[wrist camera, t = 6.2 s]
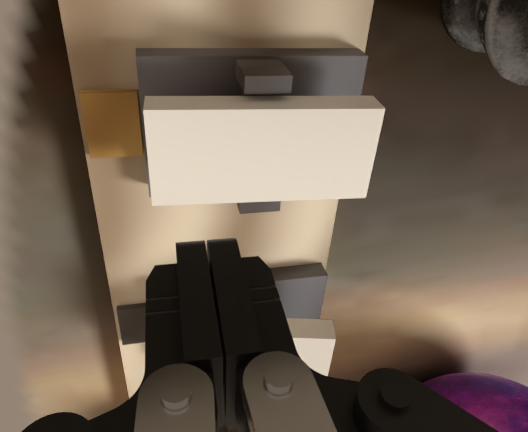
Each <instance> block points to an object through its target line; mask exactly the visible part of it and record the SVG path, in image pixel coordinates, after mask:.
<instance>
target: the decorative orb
mask: <svg viewBox="0 0 528 432" xmlns="http://www.w3.org/2000/svg"><path fill="white" fill-rule="evenodd" d="M423 384H424V385H426V386H427V387H429V388H431V389H432V390H434V391H435V392H437V393H439V394H440V395H442V396H443V397H445V398H446V399H448V400H450V401H451V402H453V403H454V404H456V405H458V406H459V407H461V408H462V409H464V410H465V411H467V412H469V413H470V414H472V415H473V416H475V417H477V418H478V419H480V420H481V421H483V422H484V423H486V424H488V425H489V426H491V427H492V428H494V429H496V430H497V431H499V432H528V387H527V386H524V385H522V384H520V383H517V382H515V381H512V380H509V379H506V378H503V377H499V376H495V375H489V374H482V373H453V374H447V375H443V376H439V377H435V378H432V379H430V380H427V381H425V382H423Z"/></svg>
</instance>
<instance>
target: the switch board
mask: <svg viewBox="0 0 528 432" xmlns="http://www.w3.org/2000/svg"><path fill="white" fill-rule="evenodd" d="M58 3H59V9H60V14H61V20H62V26H63V31H64V37H65V42H66V48H67V54H68V59H69V65H70V70H71V76H72V82H73V87H74V93H75V98H76V104H77V110H78V115H79V121H80V127H81V132H82V138H83V143H84V149H85V155H86V160H87V166H88V171H89V177H90V183H91V188H92V194H93V199H94V205H95V211H96V216H97V222H98V227H99V233H100V239H101V244H102V250H103V255H104V261H105V267H106V272H107V278H108V283H109V289H110V295H111V300H112V306H113V311H114V317H115V323H116V328H117V334H118V339H119V345H120V351H121V356H122V362H123V367H124V373H125V379H126V384H127V390H128V395H129V398H131V397H132V396H133V394H134V393H135V392H136V391H137V389H138V388H139V386H140V384H141V382H142V380H143V377H144V372H145V316H146V313H145V306H146V280H147V278H148V276H149V274H150V273H151V271H152V269H153V268H154V266H155V265H164V264H175V263H177V258H176V242H189V241H201V240H205V244H206V250H207V240H212V239H225V238H236V239H237V242H238V246H239V251H240V255H241V258H242V257H253V256H259V257H260V258H261V259H262V260H263V261H264V262H265V263H266V265H267V266H268V267H269V268H270V269H271V271H272V274H273V277H274V281H275V284H276V288H277V290H278V293H279V296H280V301H281V303H282V306H283V309H284V312H285V316H286V318H300V319H320V314H321V309H322V304H323V298H324V293H325V287H326V282H327V277H328V275H327V273H326V265H327V259H328V254H329V248H330V243H331V237H332V232H333V226H334V220H335V215H336V209H337V204H338V199H322V200H296V201H270V202H244V203H218V204H192V205H167V206H152V200H151V189H150V178H149V168H148V157H147V146H146V136H145V125H144V114H143V107H144V99H145V96H361V93H362V87H363V82H364V76H365V71H366V65H367V60H368V55H367V54H365V48H366V42H367V37H368V31H369V26H370V20H371V14H372V9H373V3H374V0H58ZM218 432H238V429H237V424H236V425H230V426H226V424H225V416H224V409H223V427H218Z"/></svg>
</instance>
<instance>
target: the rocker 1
mask: <svg viewBox="0 0 528 432" xmlns="http://www.w3.org/2000/svg"><path fill="white" fill-rule="evenodd" d="M384 113H385V108H384V107H383V106H382V105H381V104H380V102H379V101H378V100H377V99H376V98H375V97H374V96H145V99H144V107H143V114H144V125H145V136H146V146H147V157H148V168H149V178H150V189H151V200H152V206H167V205H192V204H218V203H244V202H270V201H296V200H322V199H348V198H366V195H367V190H368V186H369V181H370V176H371V172H372V167H373V163H374V158H375V154H376V149H377V145H378V140H379V135H380V131H381V126H382V122H383V117H384Z"/></svg>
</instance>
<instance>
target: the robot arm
mask: <svg viewBox="0 0 528 432" xmlns="http://www.w3.org/2000/svg"><path fill="white" fill-rule="evenodd" d="M176 258H177V263H175V264H164V265H155V266H154V268H153V269H152V271H151V273H150V274H149V276H148V278H147V280H146V306H145V313H146V316H145V372H144V377H143V380H142V382H141V384H140V386H139V388H138V389H137V391H136V392H135V393H134V394H133V396H132V397H131V398H129V399H128V400H127V401H126V402H125V403H123V404H122V405H120V406H119V407H117V408H115V409H113V410H111V411H109V412H107V413H104V414H102V415H100V416H98V417H95V418H93V419H91V420H89V421H88V420H87V419H86V418H84V417H83V416H81V415H78V414H75V413H69V412H61V413H54V414H50V415H47V416H45V417H42V418H40V419H38V420H36V421H35V422H33V423H32V424H30V425H29V426H28V427H26V428H25V429H24V430H23V431H22V432H218V427H223V409H224V416H225V424H226V426H230V425H236V424H237V429H238V432H499V431H497V430H496V429H494V428H492V427H491V426H489V425H488V424H486V423H484V422H483V421H481V420H480V419H478V418H477V417H475V416H473V415H472V414H470V413H469V412H467V411H465V410H464V409H462V408H461V407H459V406H458V405H456V404H454V403H453V402H451V401H450V400H448V399H446V398H445V397H443V396H442V395H440V394H439V393H437V392H435V391H434V390H432V389H431V388H429V387H427V386H426V385H424V384H423V383H421V382H420V381H418V380H416V379H415V378H413V377H412V376H410V375H408V374H406V373H404V372H402V371H399V370H395V369H389V368H381V369H375V370H373V371H370V372H369V373H367V374H366V375H365V376H364V377H363V378H362V379H361V381H360V382H356V381H350V380H344V379H337V378H332V377H328V376H325V375H322V374H320V373H318V372H316V371H314V370H313V369H311V368H310V367H309V366H308V365H307V364H306V363H305V362H304V361H303V360H302V359H301V358H300V356H299V354H298V352H297V350H296V347H295V344H294V341H293V338H292V335H291V331H290V328H289V325H288V322H287V319H286V316H285V312H284V309H283V306H282V303H281V301H280V296H279V293H278V290H277V288H276V284H275V281H274V277H273V274H272V271H271V269H270V268H269V267H268V266H267V265H266V263H265V262H264V261H263V260H262V259H261V258H260V257H259V256H253V257H242V258H241V255H240V251H239V246H238V242H237V239H236V238H225V239H212V240H207V250H206V244H205V240H201V241H189V242H176Z"/></svg>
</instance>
